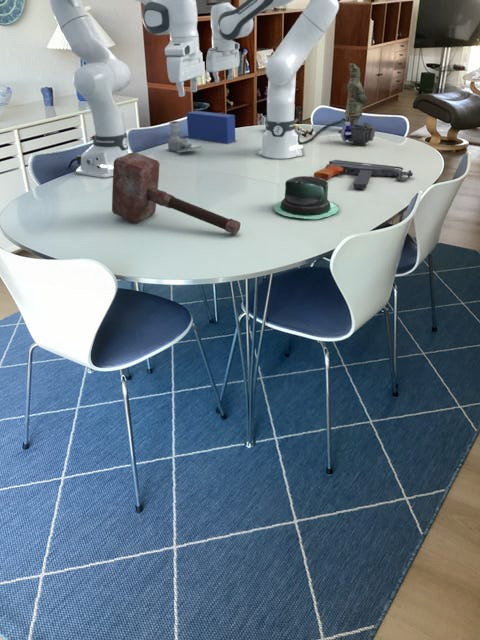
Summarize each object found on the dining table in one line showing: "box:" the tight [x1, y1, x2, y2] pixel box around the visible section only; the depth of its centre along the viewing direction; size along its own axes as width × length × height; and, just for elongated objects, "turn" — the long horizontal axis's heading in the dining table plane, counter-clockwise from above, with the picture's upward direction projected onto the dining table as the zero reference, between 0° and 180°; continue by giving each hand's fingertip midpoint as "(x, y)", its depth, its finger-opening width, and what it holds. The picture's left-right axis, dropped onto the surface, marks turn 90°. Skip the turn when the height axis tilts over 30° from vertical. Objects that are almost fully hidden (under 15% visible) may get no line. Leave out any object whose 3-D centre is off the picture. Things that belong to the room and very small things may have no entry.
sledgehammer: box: [111, 151, 241, 236], centre depth 161 cm, size 17×10×40 cm
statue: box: [344, 62, 368, 127], centre depth 262 cm, size 11×9×30 cm
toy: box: [338, 121, 376, 146], centre depth 244 cm, size 9×9×15 cm
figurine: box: [295, 118, 314, 138], centre depth 267 cm, size 13×8×25 cm
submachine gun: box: [313, 159, 414, 190], centre depth 199 cm, size 32×3×25 cm
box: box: [186, 110, 236, 145], centre depth 257 cm, size 23×6×12 cm, turn 56°
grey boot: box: [167, 120, 203, 154], centre depth 238 cm, size 9×12×15 cm
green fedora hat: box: [273, 175, 339, 220], centre depth 172 cm, size 15×19×20 cm
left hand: (188, 94), depth 181 cm, fingers open, 8 cm apart
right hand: (223, 81), depth 243 cm, fingers open, 8 cm apart
